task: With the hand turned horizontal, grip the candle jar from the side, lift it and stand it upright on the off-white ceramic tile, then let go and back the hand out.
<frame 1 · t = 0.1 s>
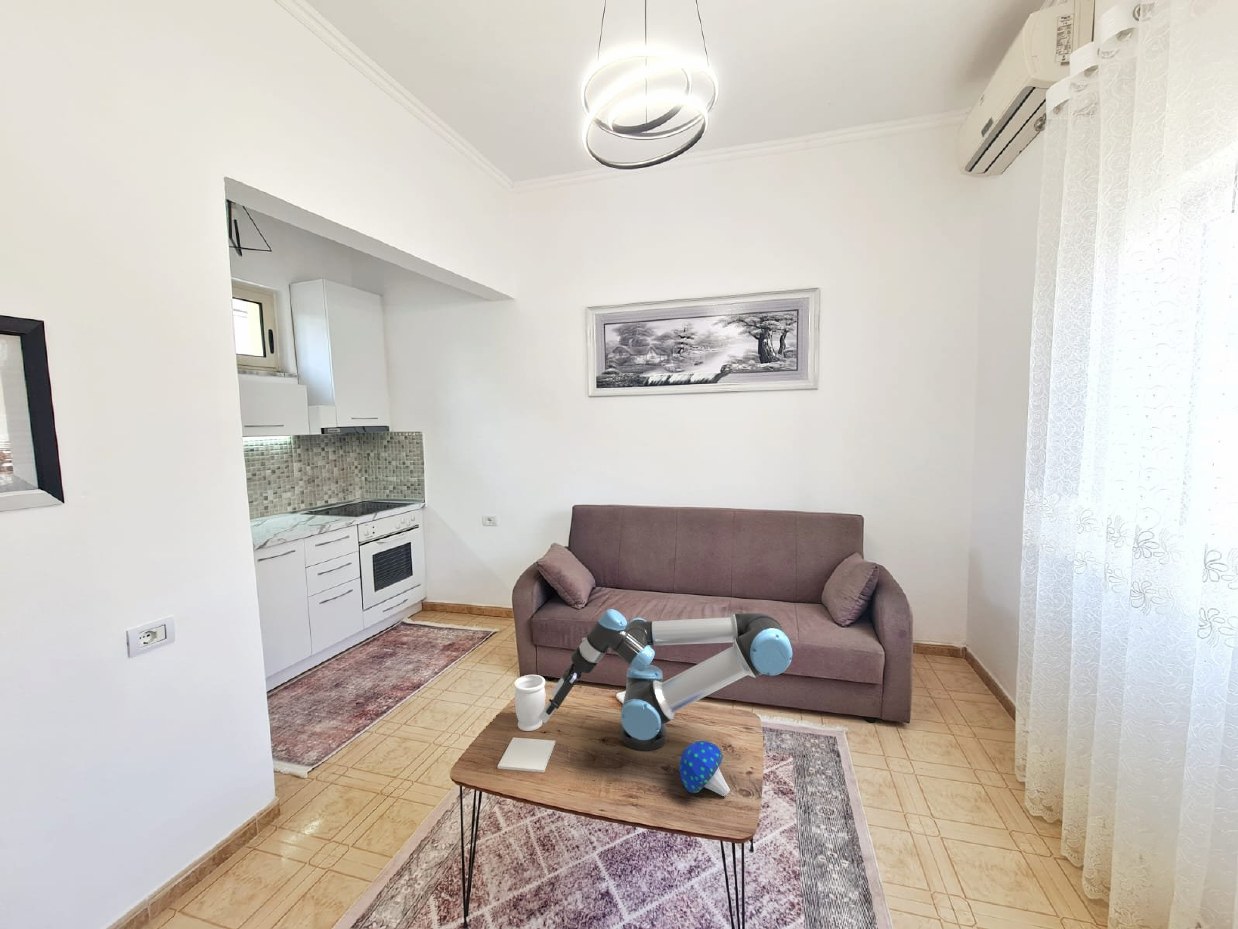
hand: (547, 707, 150), 15 cm above the table, tool tilted 35°, fingers open, 13 cm apart
jar: (530, 725, 167), on the table
mushroom: (703, 789, 137), on the table
ceramic tile: (527, 755, 151), on the table
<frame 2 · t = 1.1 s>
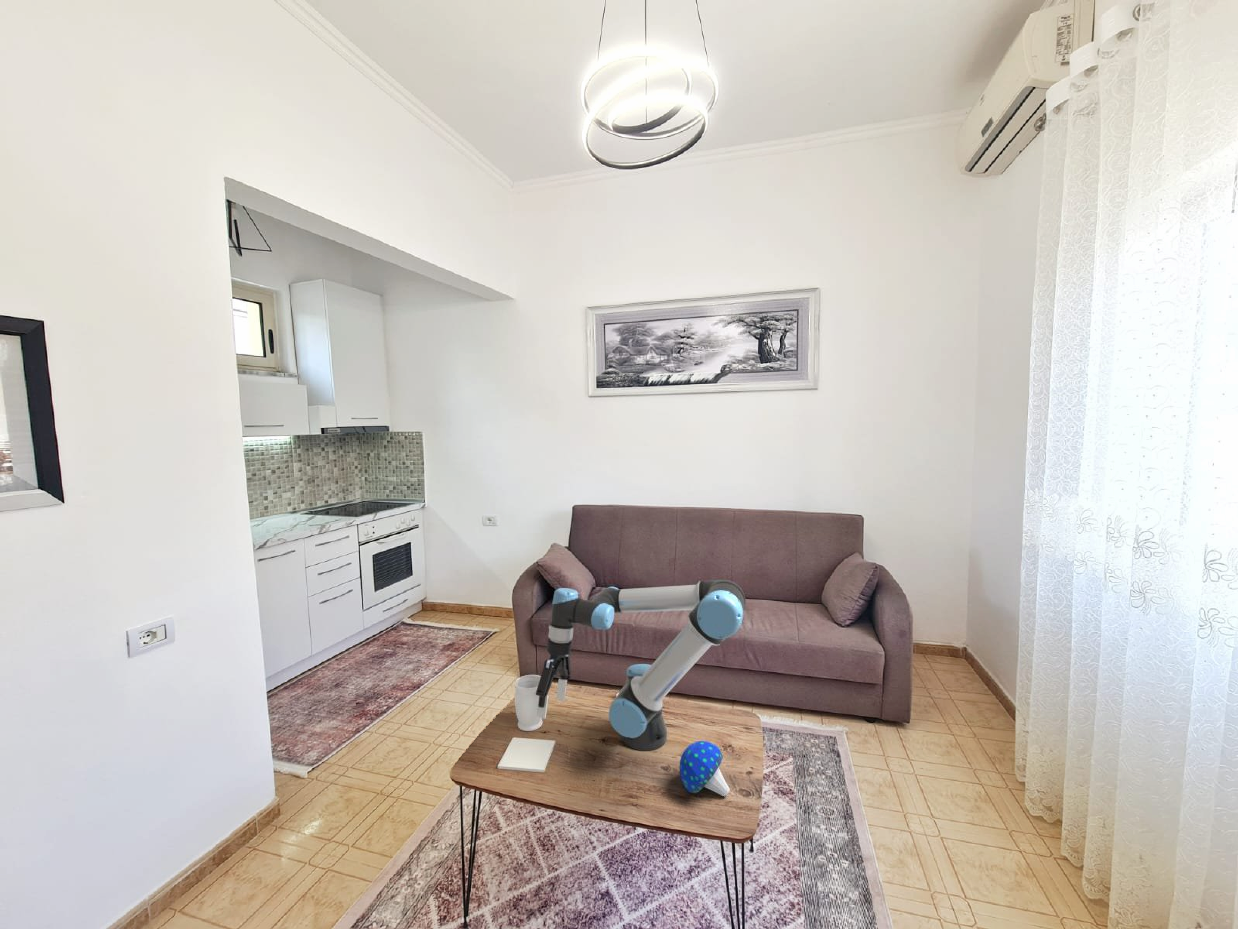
hand: (551, 708, 152), 14 cm above the table, tool pointing down, fingers open, 13 cm apart
nothing on the table moved.
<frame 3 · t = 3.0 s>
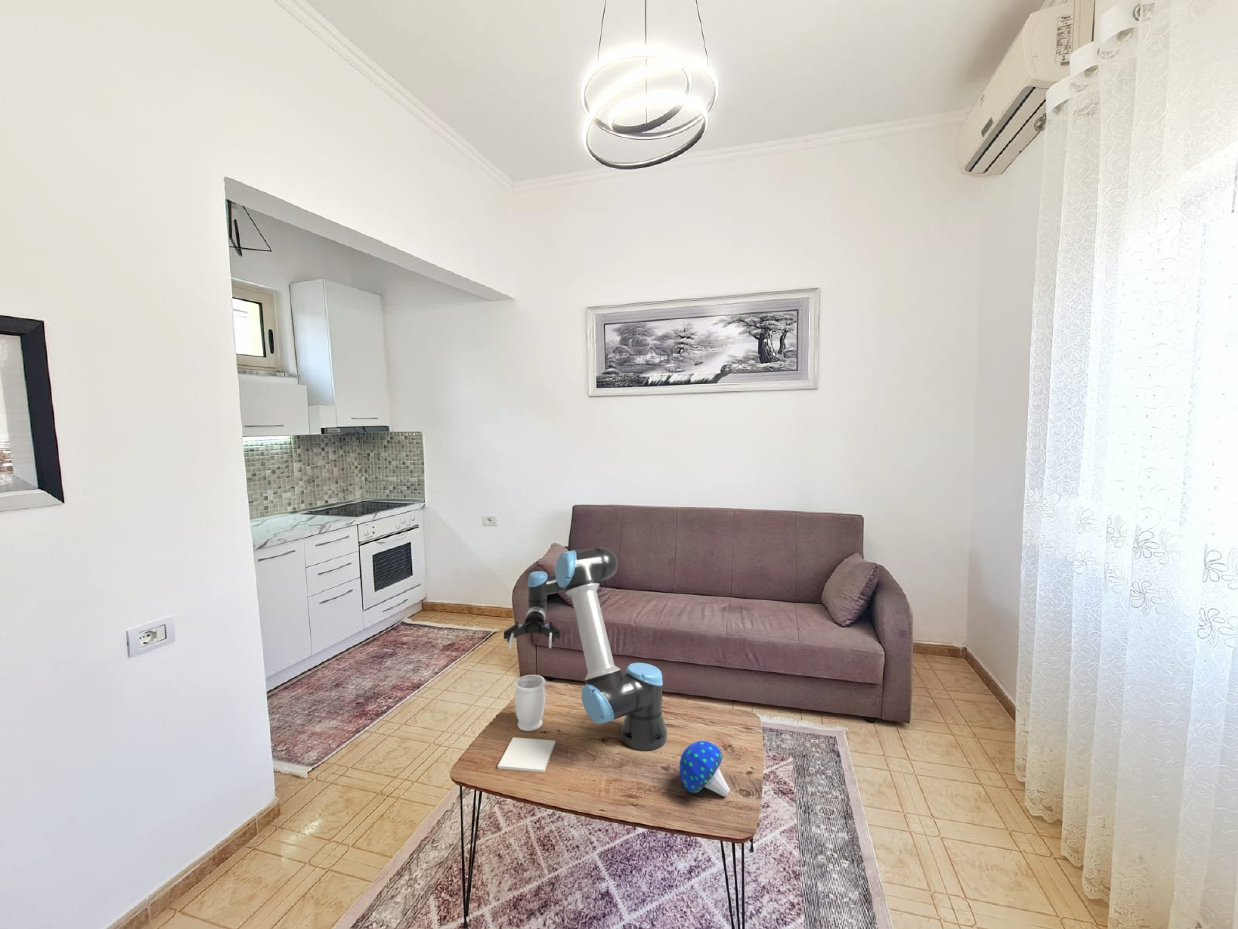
hand: (530, 644, 170), 26 cm above the table, tool horizontal, fingers open, 13 cm apart
nothing on the table moved.
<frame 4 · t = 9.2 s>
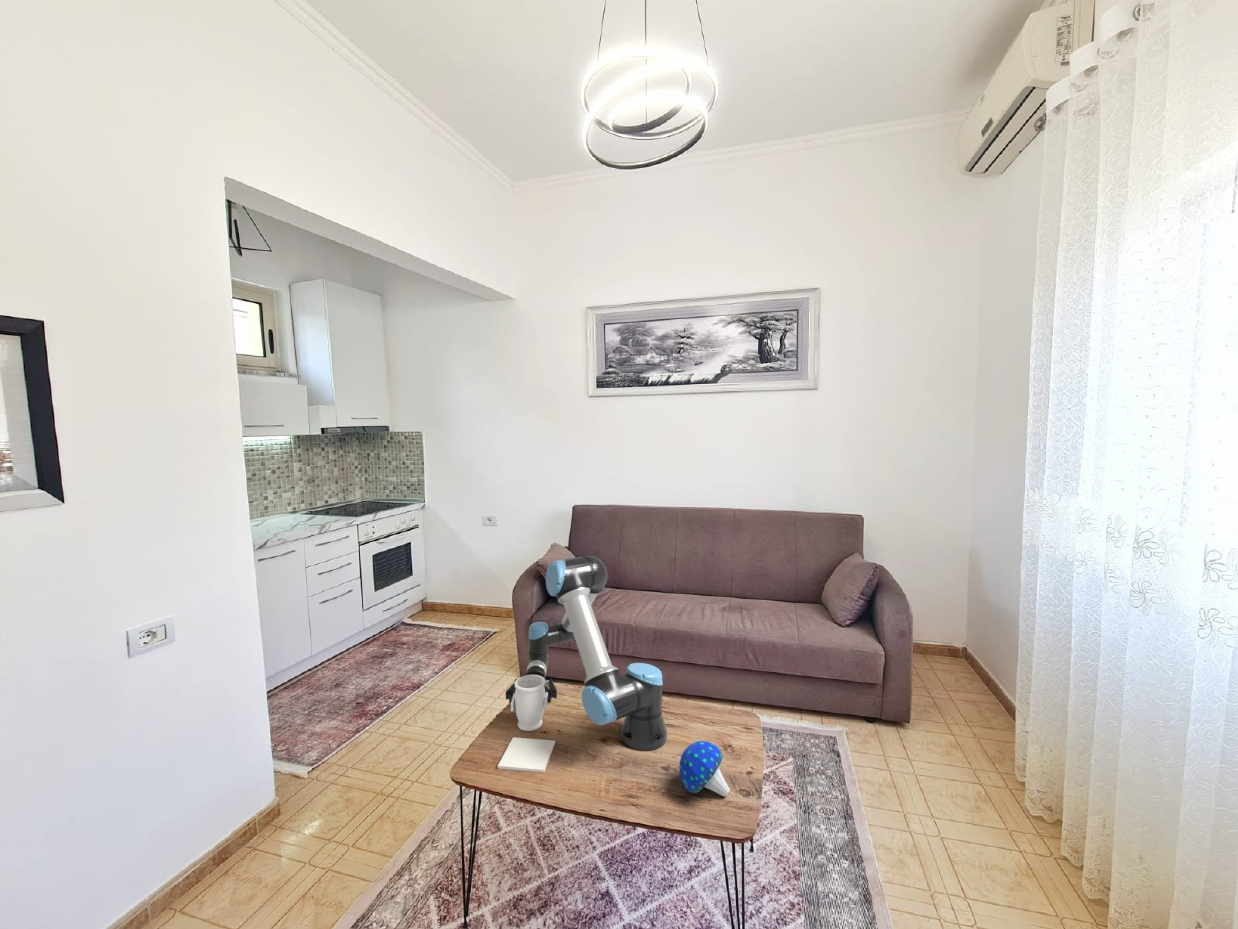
hand: (528, 706, 163), 9 cm above the table, tool horizontal, fingers closed on jar, 10 cm apart
jar: (530, 725, 167), on the table, touching gripper
everything else where it was.
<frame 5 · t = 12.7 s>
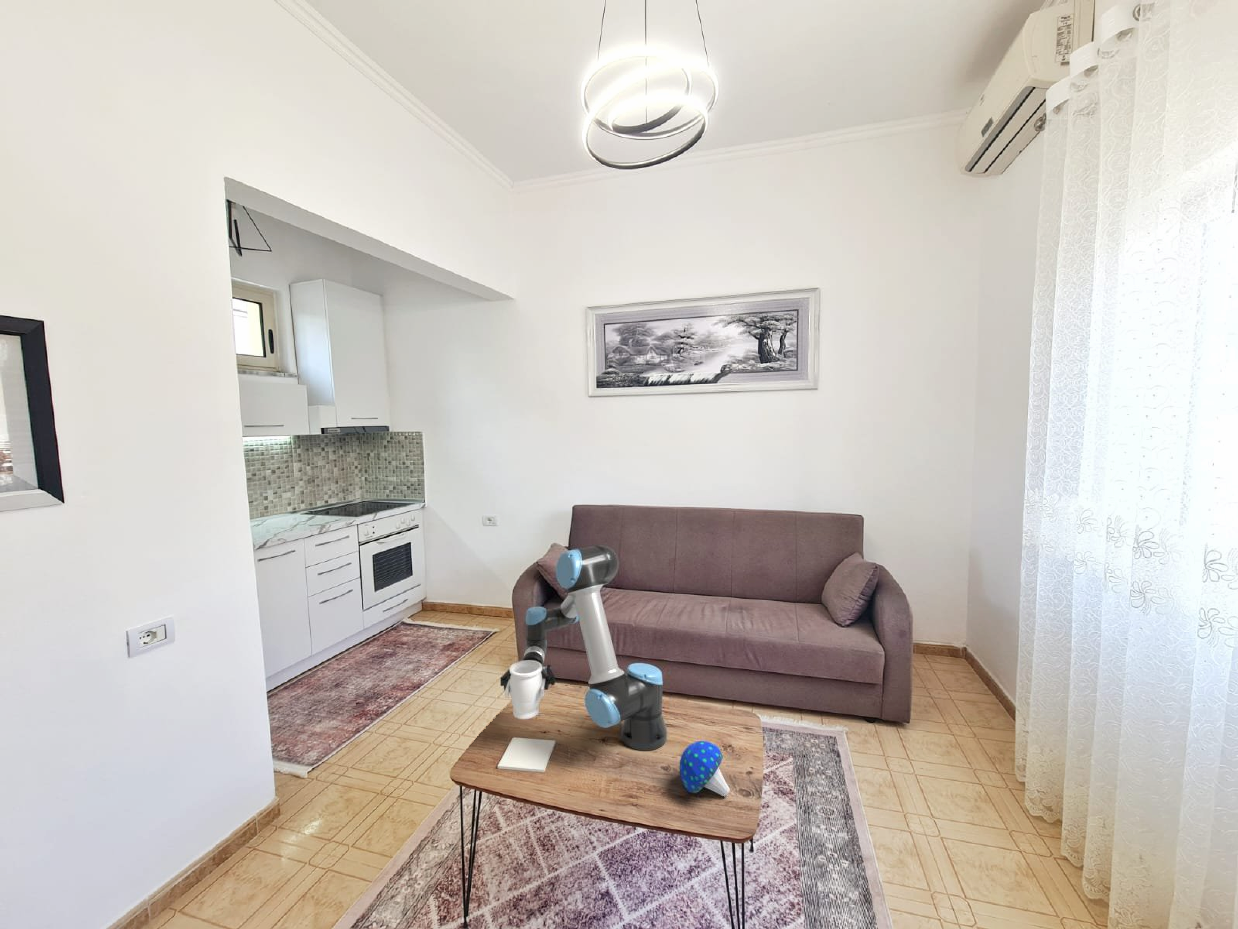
hand: (524, 693, 153), 18 cm above the table, tool horizontal, fingers closed on jar, 10 cm apart
jar: (526, 713, 158), point 9 cm above the table, touching gripper
everything else where it was.
when the fingers open (11 cm above the table, at t = 16.2 s): jar drops 1 cm, resting on ceramic tile.
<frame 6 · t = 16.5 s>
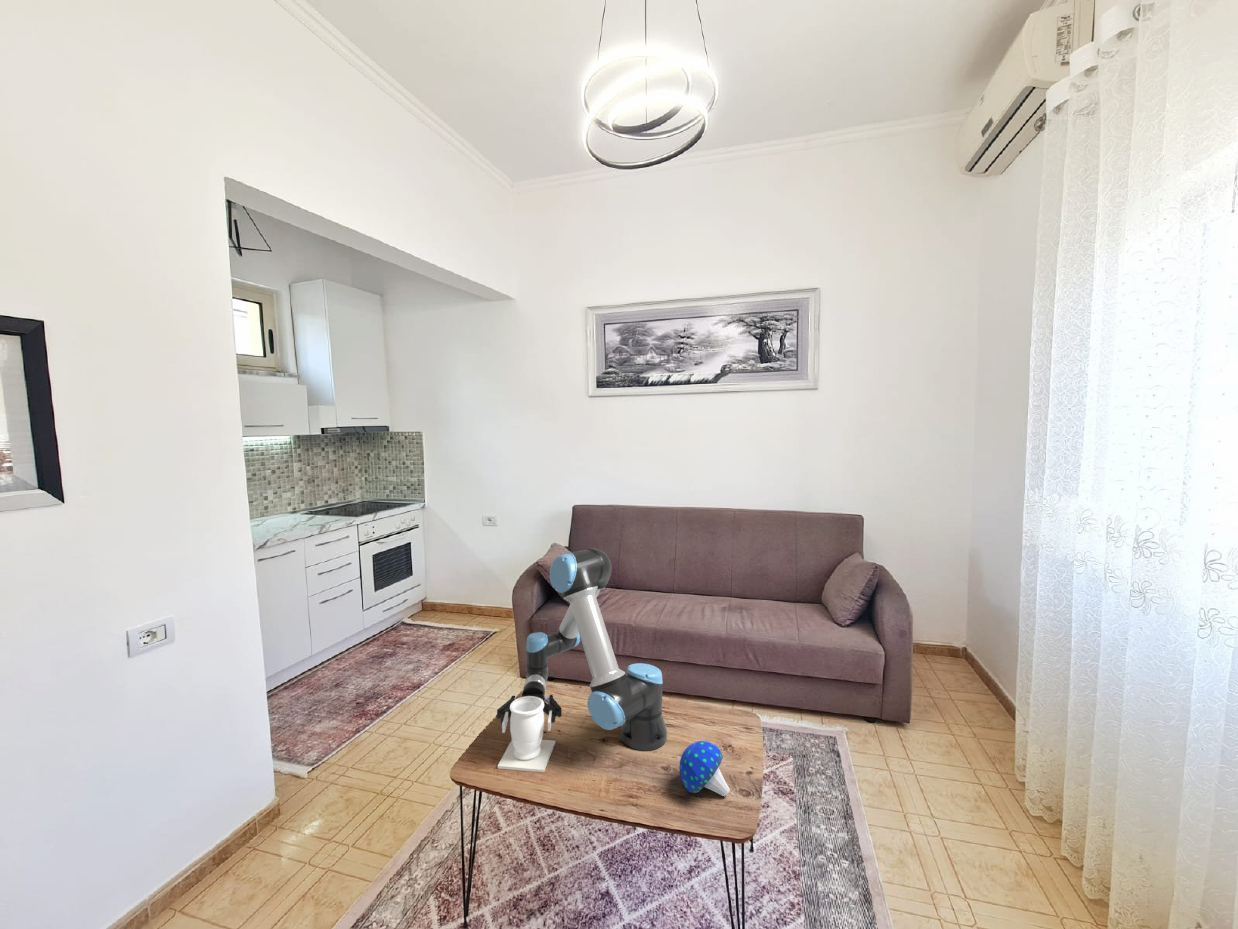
hand: (526, 727, 147), 11 cm above the table, tool horizontal, fingers open, 13 cm apart
jar: (527, 752, 151), point 1 cm above the table, touching ceramic tile
everything else where it was.
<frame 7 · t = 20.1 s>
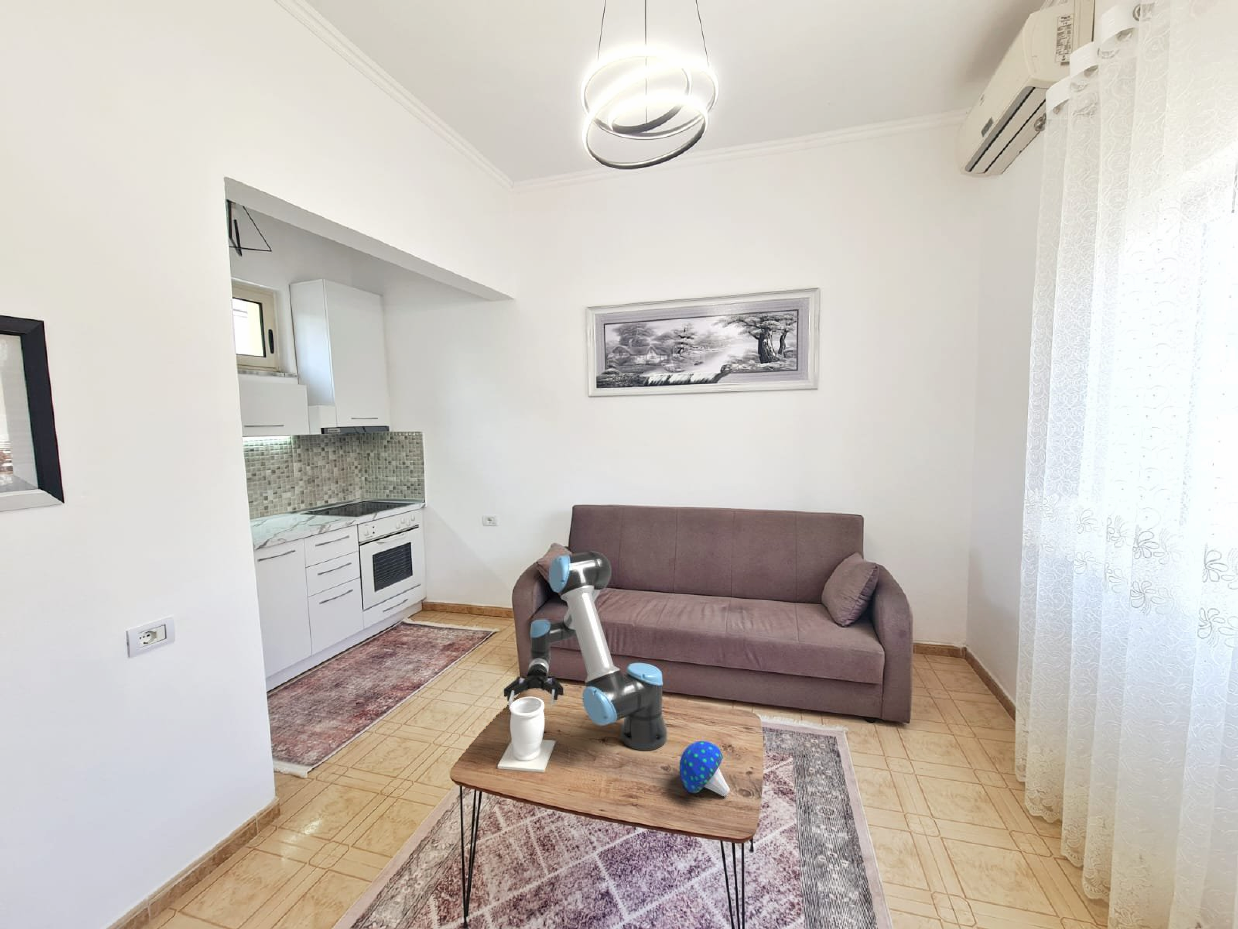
hand: (531, 704, 160), 11 cm above the table, tool horizontal, fingers open, 13 cm apart
nothing on the table moved.
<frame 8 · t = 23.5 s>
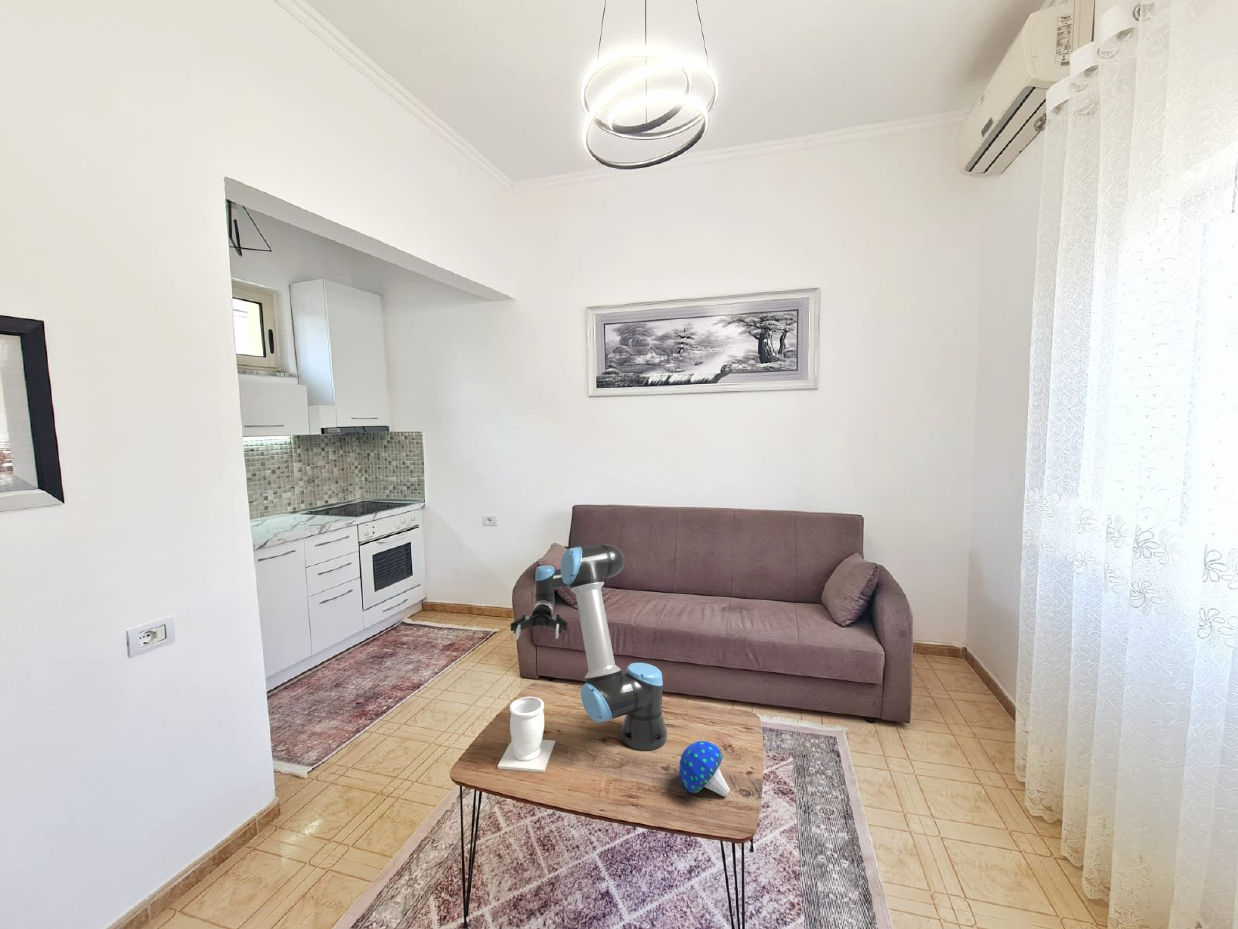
hand: (536, 635, 168), 30 cm above the table, tool horizontal, fingers open, 13 cm apart
nothing on the table moved.
at the end: jar inside the target area on the ceramic tile (0.1 cm from its centre), point 0.6 cm above the ceramic tile's base; jar tilted 0°; the gripper is holding nothing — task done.
